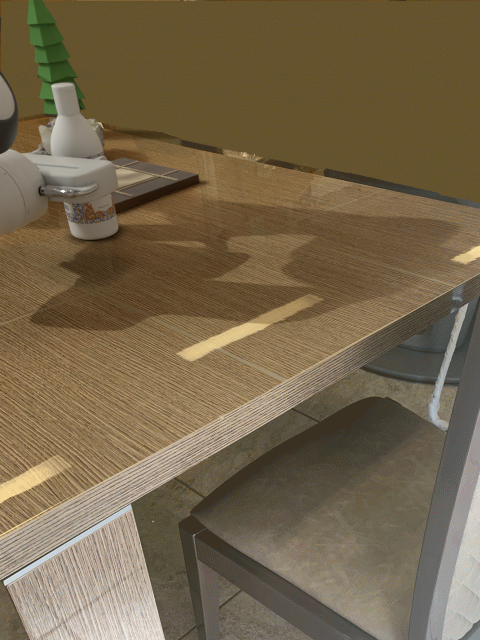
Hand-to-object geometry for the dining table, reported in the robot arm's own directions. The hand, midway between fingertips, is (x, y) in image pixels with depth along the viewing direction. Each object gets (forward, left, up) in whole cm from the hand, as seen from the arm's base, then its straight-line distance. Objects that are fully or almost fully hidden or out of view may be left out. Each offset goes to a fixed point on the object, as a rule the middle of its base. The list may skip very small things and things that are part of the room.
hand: (73, 159), depth 89 cm
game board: (-14, +18, -11) cm, 26 cm away
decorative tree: (-53, +38, -11) cm, 67 cm away
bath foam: (0, +1, -11) cm, 11 cm away
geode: (-36, +25, -11) cm, 45 cm away
